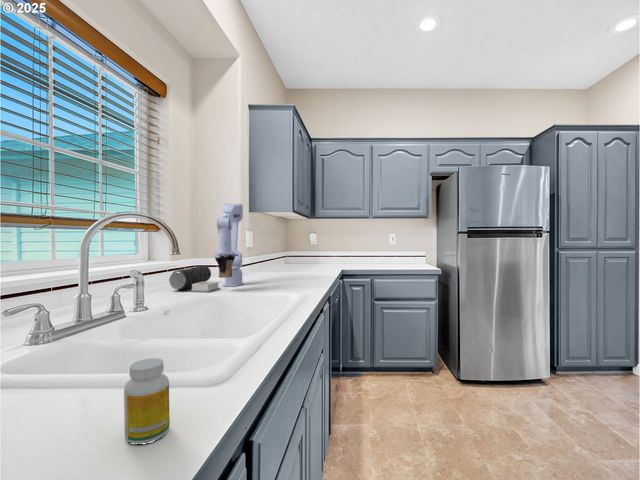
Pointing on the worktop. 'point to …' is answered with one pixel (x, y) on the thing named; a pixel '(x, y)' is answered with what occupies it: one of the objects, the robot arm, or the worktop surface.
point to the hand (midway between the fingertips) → (225, 271)
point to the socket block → (204, 287)
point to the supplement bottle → (146, 402)
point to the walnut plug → (227, 270)
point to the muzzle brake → (189, 277)
